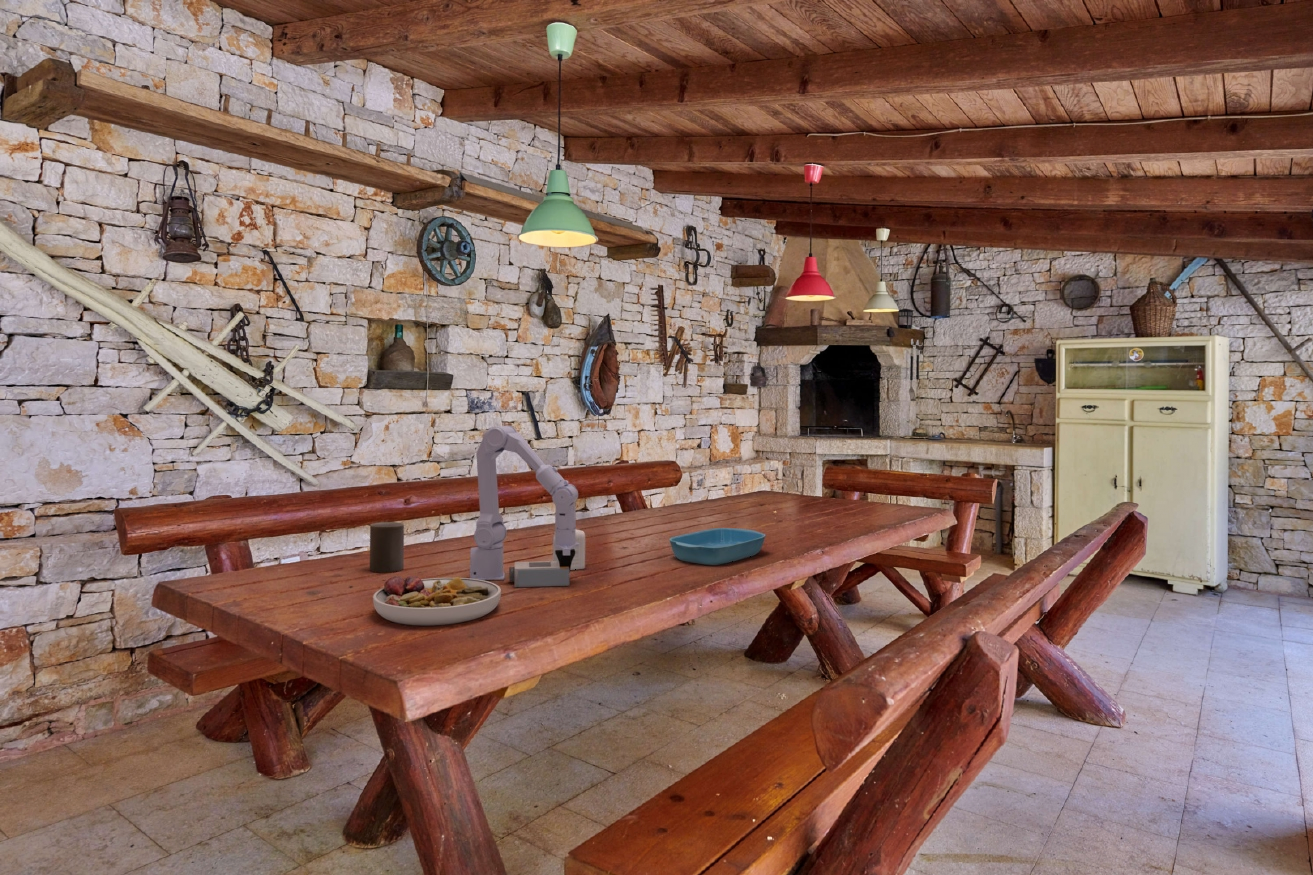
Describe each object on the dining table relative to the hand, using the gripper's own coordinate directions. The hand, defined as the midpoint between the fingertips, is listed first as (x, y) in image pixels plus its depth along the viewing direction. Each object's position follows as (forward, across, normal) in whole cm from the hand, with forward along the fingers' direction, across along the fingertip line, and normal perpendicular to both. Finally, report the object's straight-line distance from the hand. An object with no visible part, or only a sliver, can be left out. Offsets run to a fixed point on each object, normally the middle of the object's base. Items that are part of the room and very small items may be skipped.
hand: (565, 575), depth 223 cm
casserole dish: (+2, +31, -52) cm, 61 cm away
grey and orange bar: (+2, -3, +7) cm, 7 cm away
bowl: (+2, -26, +32) cm, 41 cm away
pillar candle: (+2, +22, +52) cm, 57 cm away
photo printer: (+2, +16, -2) cm, 17 cm away
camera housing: (+2, +1, +8) cm, 8 cm away
